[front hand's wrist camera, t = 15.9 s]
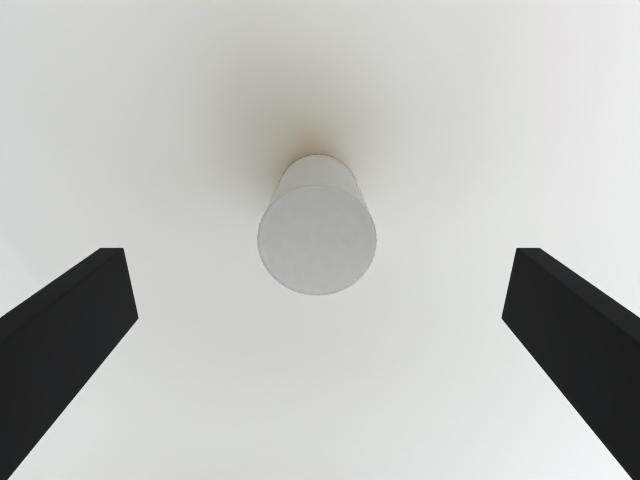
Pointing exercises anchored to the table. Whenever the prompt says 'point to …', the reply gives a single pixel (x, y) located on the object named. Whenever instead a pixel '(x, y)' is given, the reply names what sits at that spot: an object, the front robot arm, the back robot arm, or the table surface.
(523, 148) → the table surface
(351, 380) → the table surface
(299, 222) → the canister
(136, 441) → the table surface
